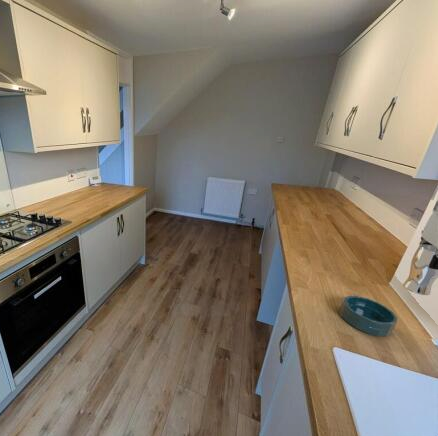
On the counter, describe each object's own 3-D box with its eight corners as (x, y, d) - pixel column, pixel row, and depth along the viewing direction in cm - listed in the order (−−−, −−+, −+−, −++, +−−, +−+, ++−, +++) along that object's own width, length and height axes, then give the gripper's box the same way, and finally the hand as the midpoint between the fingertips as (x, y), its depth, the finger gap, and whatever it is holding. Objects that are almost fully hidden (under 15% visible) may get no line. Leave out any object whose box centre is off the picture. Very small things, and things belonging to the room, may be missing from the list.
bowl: (381, 315, 85) (386, 302, 84) (399, 343, 74) (405, 329, 72) (335, 303, 91) (339, 291, 89) (345, 328, 79) (350, 315, 77)
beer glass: (402, 280, 83) (419, 241, 78) (432, 290, 78) (452, 249, 73) (399, 288, 79) (417, 248, 73) (431, 299, 74) (452, 256, 68)
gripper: (497, 221, 60) (465, 280, 66) (452, 203, 74) (428, 253, 81) (455, 216, 63) (427, 274, 69) (419, 200, 78) (399, 249, 84)
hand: (428, 262), depth 75 cm, fingers closed on beer glass, 7 cm apart
